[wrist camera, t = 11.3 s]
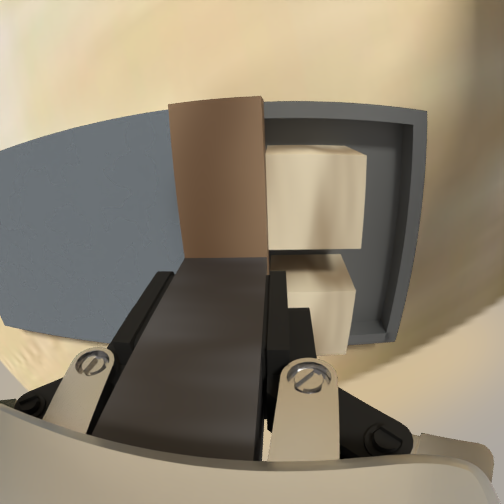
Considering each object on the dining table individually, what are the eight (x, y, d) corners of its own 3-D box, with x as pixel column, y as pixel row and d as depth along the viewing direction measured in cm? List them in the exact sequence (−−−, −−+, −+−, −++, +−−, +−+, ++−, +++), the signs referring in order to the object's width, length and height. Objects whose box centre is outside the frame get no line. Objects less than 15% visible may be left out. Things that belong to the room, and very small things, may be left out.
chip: (267, 145, 15) (345, 145, 15) (269, 219, 17) (342, 218, 17) (265, 154, 12) (366, 155, 11) (268, 250, 13) (360, 248, 13)
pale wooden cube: (270, 255, 18) (340, 254, 18) (271, 312, 19) (334, 311, 19) (269, 292, 14) (355, 290, 14) (270, 356, 16) (345, 354, 16)
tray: (411, 110, 14) (426, 111, 12) (387, 323, 20) (395, 341, 18) (215, 106, 15) (207, 105, 13) (233, 327, 21) (229, 346, 19)
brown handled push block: (263, 100, 11) (162, -38, 1) (271, 373, 17) (260, 572, 7) (188, 105, 11) (-115, 138, 1) (218, 371, 17) (180, 563, 7)
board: (209, 107, 15) (198, 105, 13) (228, 327, 21) (223, 352, 19) (-23, 161, 17) (-44, 168, 15) (19, 310, 23) (4, 325, 20)
